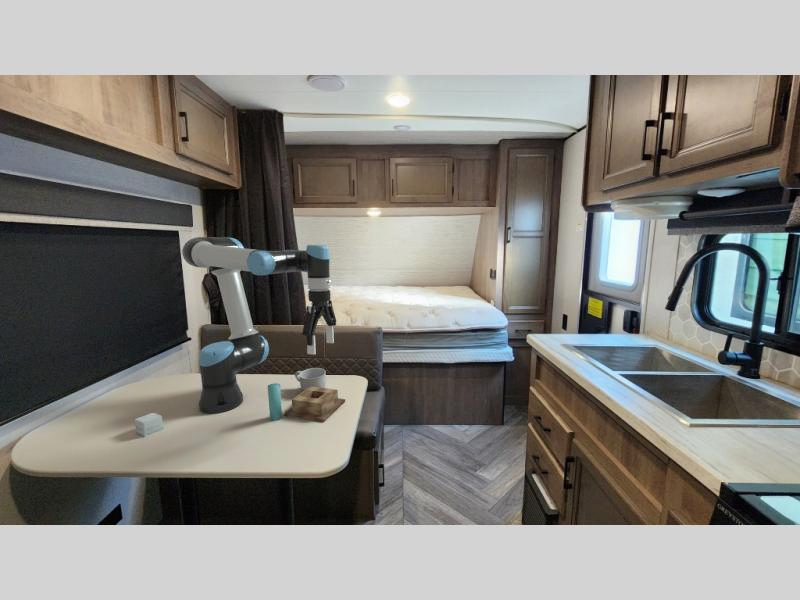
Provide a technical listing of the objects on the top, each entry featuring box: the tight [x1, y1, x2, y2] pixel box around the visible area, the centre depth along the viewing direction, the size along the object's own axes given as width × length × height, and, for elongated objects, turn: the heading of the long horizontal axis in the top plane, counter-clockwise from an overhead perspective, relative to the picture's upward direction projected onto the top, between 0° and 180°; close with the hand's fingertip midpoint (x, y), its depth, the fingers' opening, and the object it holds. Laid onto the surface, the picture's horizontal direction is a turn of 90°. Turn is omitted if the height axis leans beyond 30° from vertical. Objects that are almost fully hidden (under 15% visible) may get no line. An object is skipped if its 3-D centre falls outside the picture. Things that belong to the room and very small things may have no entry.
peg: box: [267, 382, 283, 422], centre depth 119 cm, size 4×4×12 cm
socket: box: [283, 386, 346, 423], centre depth 126 cm, size 16×16×6 cm
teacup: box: [294, 367, 327, 392], centre depth 142 cm, size 14×11×8 cm
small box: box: [134, 412, 164, 438], centre depth 112 cm, size 6×6×5 cm
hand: (321, 348), depth 122 cm, fingers open, 13 cm apart
